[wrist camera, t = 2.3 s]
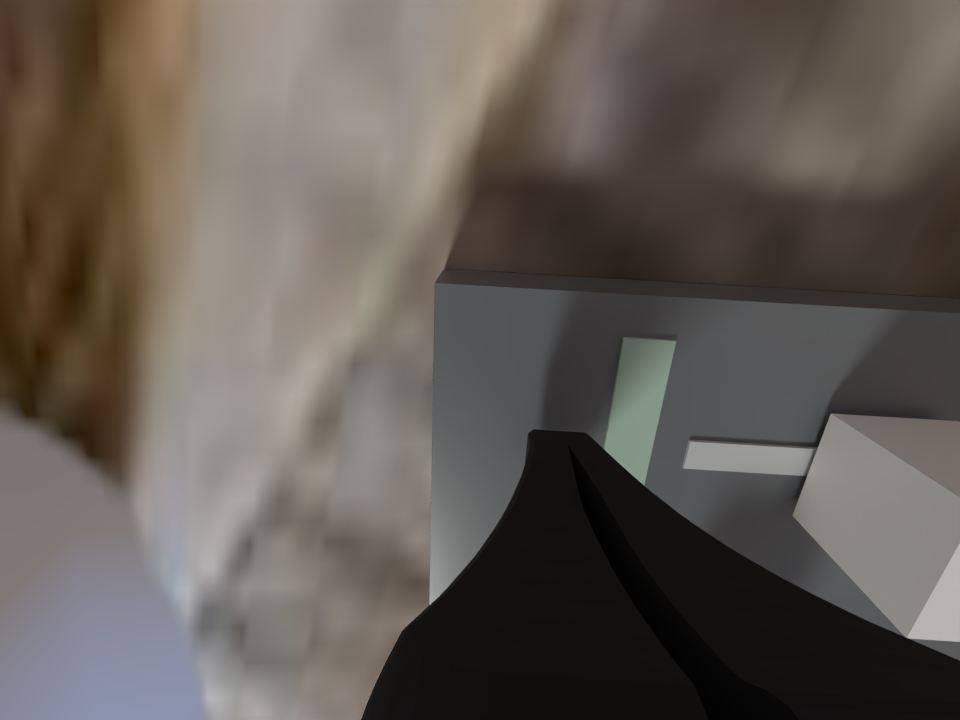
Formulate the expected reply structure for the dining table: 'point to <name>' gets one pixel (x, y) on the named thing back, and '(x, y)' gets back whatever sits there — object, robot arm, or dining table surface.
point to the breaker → (891, 516)
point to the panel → (675, 400)
